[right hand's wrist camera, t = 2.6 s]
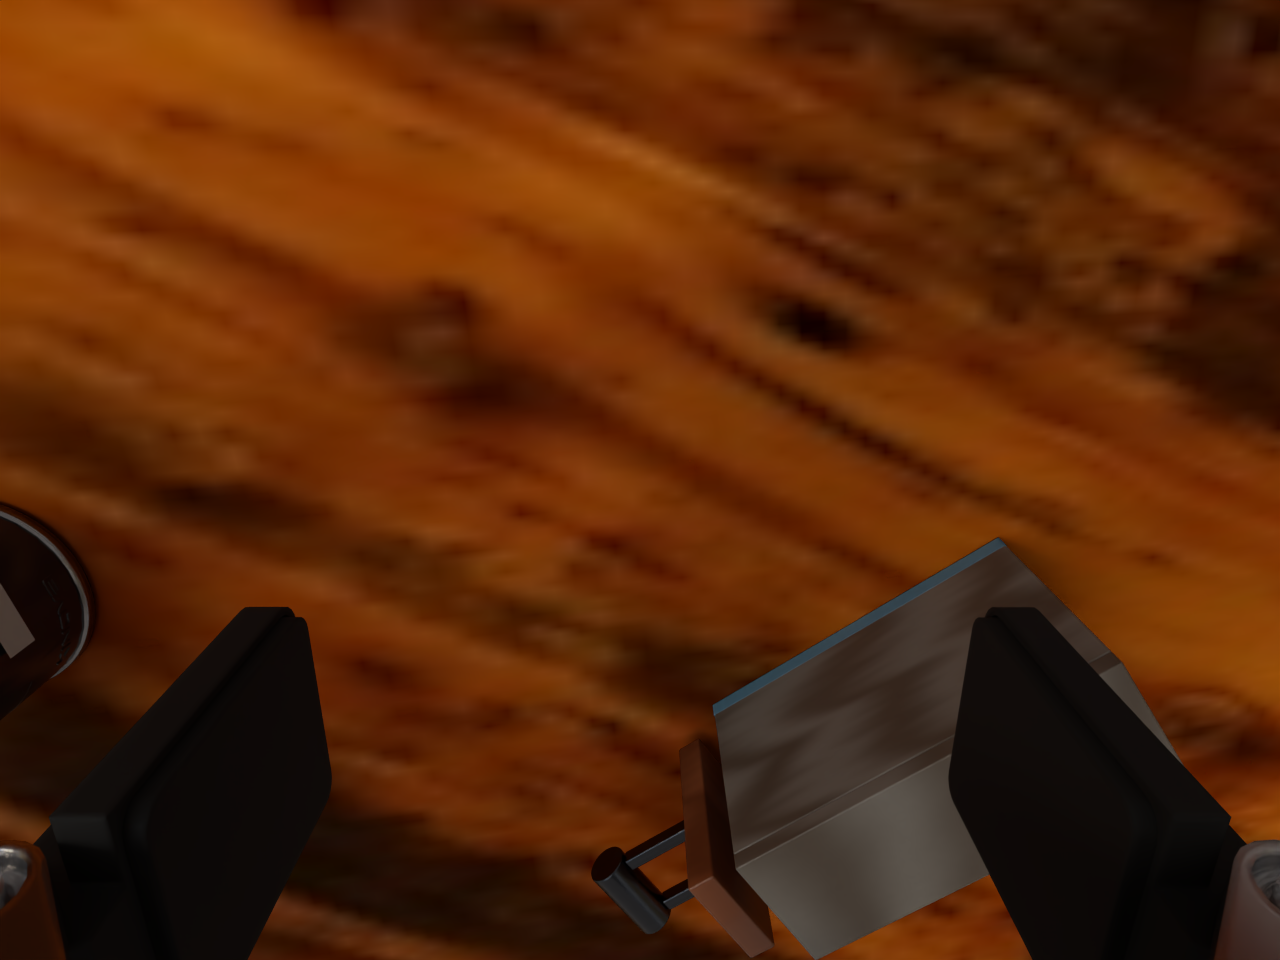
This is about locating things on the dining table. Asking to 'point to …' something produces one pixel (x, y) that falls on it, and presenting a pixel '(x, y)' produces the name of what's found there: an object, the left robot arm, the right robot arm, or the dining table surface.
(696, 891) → the drawer
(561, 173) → the dining table surface
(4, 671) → the left robot arm
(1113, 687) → the cabinet
